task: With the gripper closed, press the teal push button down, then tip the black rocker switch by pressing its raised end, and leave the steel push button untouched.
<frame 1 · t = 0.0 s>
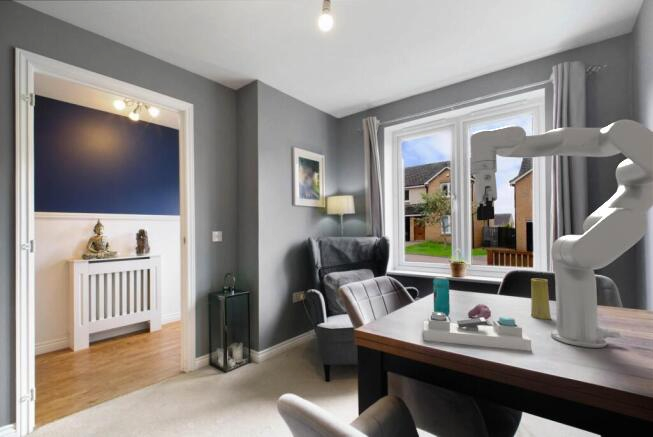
hand: (485, 219, 97), 37 cm above the table, tool pointing down, fingers open, 9 cm apart
vase: (540, 317, 113), on the table
control panel: (472, 339, 90), on the table
teal button: (506, 322, 87), point 6 cm above the table, slide at 0.0 cm
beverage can: (441, 316, 115), on the table
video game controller: (479, 321, 109), on the table
rocker switch: (471, 322, 90), point 5 cm above the table, hinge at 12.0°
steel button: (438, 317, 93), point 6 cm above the table, slide at 0.0 cm
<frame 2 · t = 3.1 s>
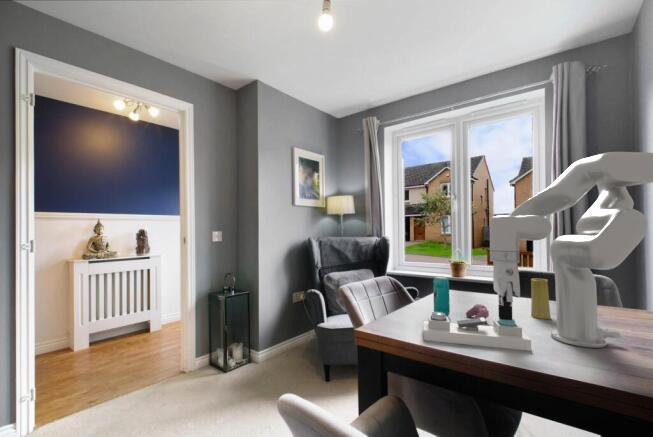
hand: (505, 318, 87), 7 cm above the table, tool pointing down, fingers closed
teal button: (506, 323, 87), point 6 cm above the table, slide at 0.1 cm, touching gripper
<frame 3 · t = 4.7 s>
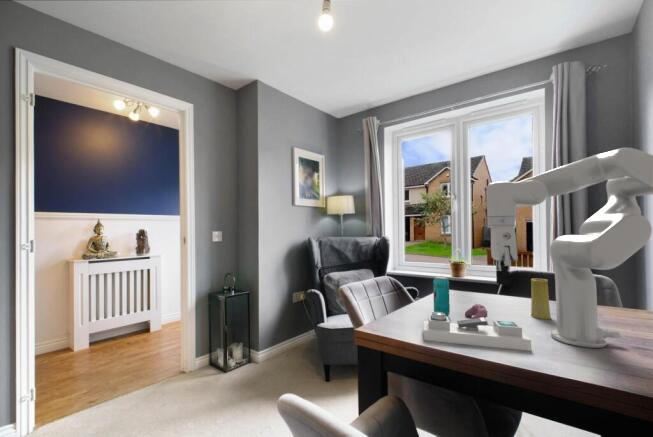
hand: (503, 284, 88), 17 cm above the table, tool pointing down, fingers closed
teal button: (507, 327, 87), point 4 cm above the table, slide at 1.5 cm
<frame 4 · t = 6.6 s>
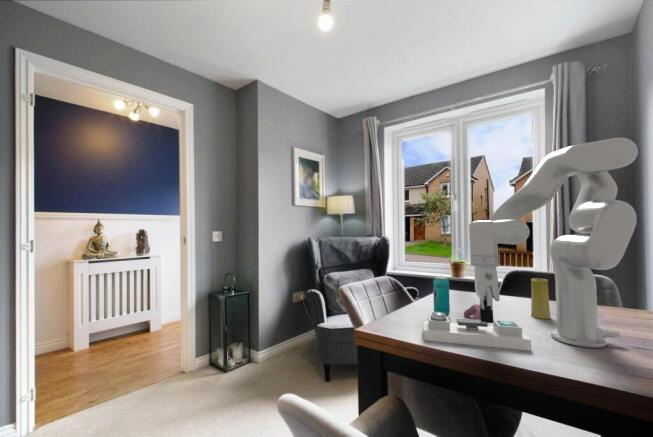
hand: (486, 322, 89), 6 cm above the table, tool pointing down, fingers closed
rocker switch: (471, 322, 90), point 5 cm above the table, hinge at 1.6°, touching gripper
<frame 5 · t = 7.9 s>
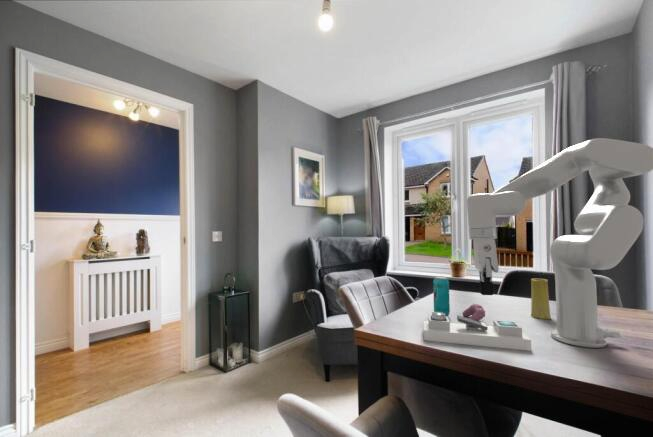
hand: (486, 294, 89), 14 cm above the table, tool pointing down, fingers closed
rocker switch: (471, 322, 90), point 5 cm above the table, hinge at -14.6°
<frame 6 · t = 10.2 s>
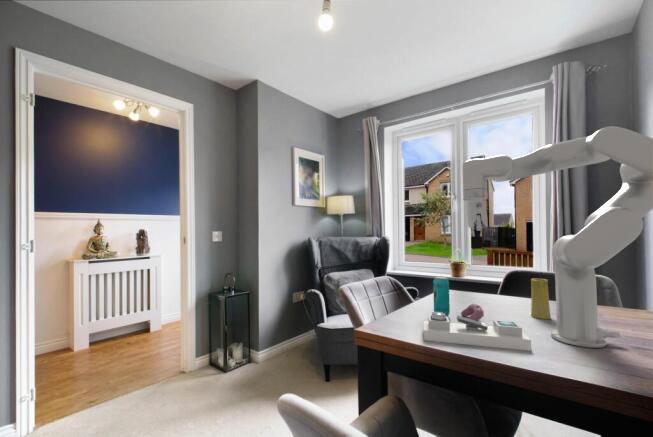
hand: (476, 248, 101), 27 cm above the table, tool pointing down, fingers closed
rocker switch: (471, 322, 90), point 5 cm above the table, hinge at -13.5°
at the end: teal button slide at 1.5 cm; rocker switch at -14° (first picture: +12°); steel button slide at 0.0 cm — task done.
